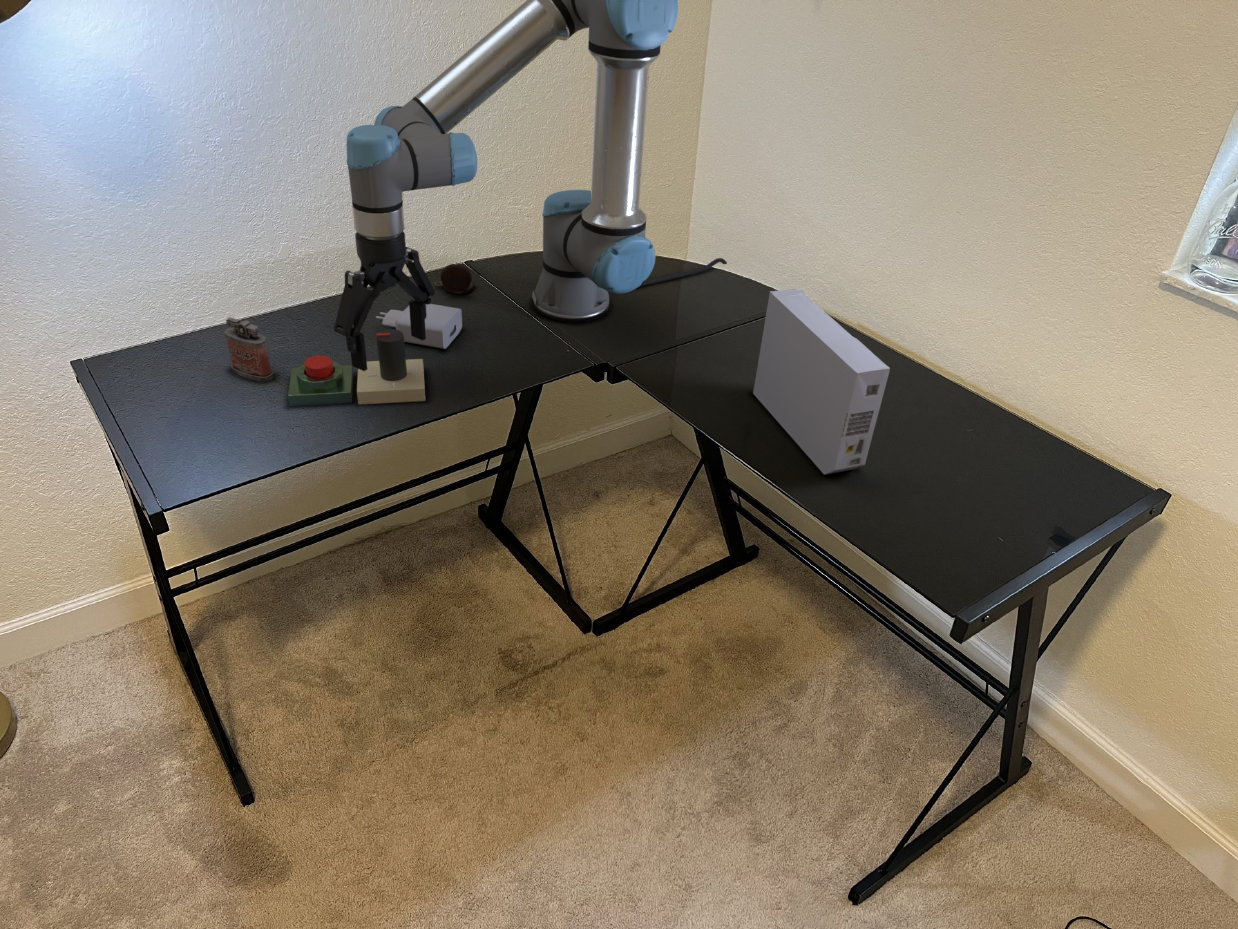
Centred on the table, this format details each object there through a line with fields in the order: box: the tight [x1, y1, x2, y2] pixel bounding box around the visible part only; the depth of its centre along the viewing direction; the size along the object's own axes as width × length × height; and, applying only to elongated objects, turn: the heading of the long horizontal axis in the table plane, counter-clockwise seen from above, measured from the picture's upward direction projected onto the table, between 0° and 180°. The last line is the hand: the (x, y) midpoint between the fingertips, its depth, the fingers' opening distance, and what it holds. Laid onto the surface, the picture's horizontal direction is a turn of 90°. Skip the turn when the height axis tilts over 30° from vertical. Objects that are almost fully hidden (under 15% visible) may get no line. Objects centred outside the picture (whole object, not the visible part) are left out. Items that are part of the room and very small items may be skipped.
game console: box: [752, 288, 891, 475], centre depth 152 cm, size 6×27×20 cm, turn 20°
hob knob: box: [375, 328, 407, 381], centre depth 159 cm, size 4×4×8 cm
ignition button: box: [304, 355, 333, 379], centre depth 157 cm, size 4×4×2 cm
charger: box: [375, 303, 463, 350], centre depth 177 cm, size 5×9×15 cm
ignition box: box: [287, 360, 355, 408], centre depth 159 cm, size 10×9×4 cm
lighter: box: [223, 316, 274, 382], centre depth 160 cm, size 8×3×10 cm, turn 65°
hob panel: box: [356, 358, 426, 405], centre depth 162 cm, size 11×10×3 cm
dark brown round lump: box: [434, 261, 475, 295], centre depth 192 cm, size 8×8×7 cm
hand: (390, 352), depth 158 cm, fingers open, 13 cm apart
